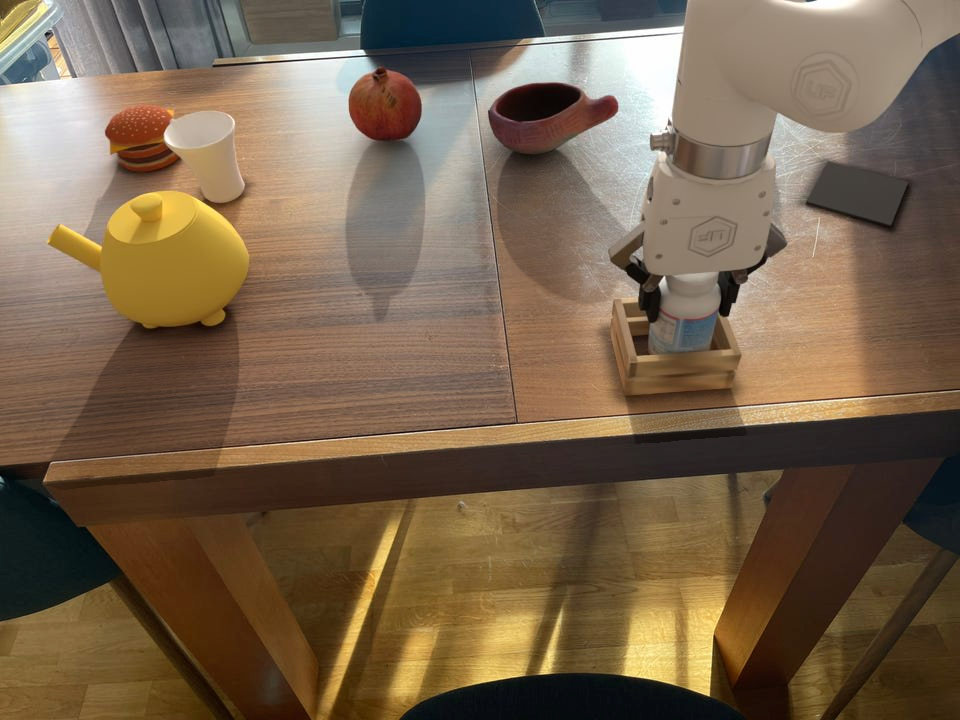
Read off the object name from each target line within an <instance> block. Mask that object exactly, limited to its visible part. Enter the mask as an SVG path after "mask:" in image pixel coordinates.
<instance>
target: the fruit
mask: <svg viewBox="0 0 960 720" xmlns="http://www.w3.org/2000/svg"><path fill="white" fill-rule="evenodd" d="M422 103H423V102H422V98H421V96H420V93H419V91H418V89H417V87H416V86H415V84H414V83H413V81H412V80H410V78H409V77H407V76H406V75H403V74H402V73H400V72H398V71H393V70H389V69H386V68H385V67H384V66H379V67H378V68H376V69H375V71H373V72H369V73H365V74H363V76H361V77H360V78H359V79H357V80H356V81H355V83H354V85H353V86H352V87H351V89H350V91H349V95H348V113H349V117H350V119H351V121H352V123H353V124H354V126H355V128H356V130H358V131H359V132H360V133H361V134H362V135H363V136H365V137H366V138H368V139H370V140H373V141H377V142H389V141H400V140H405V139H407V138H409V137H410V136H411V135H412V134H413V133H414V131H415V130H416V129H417V127H418V125H419V123H420V121H421V118H422V116H423V115H422V114H423V104H422Z"/></svg>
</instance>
